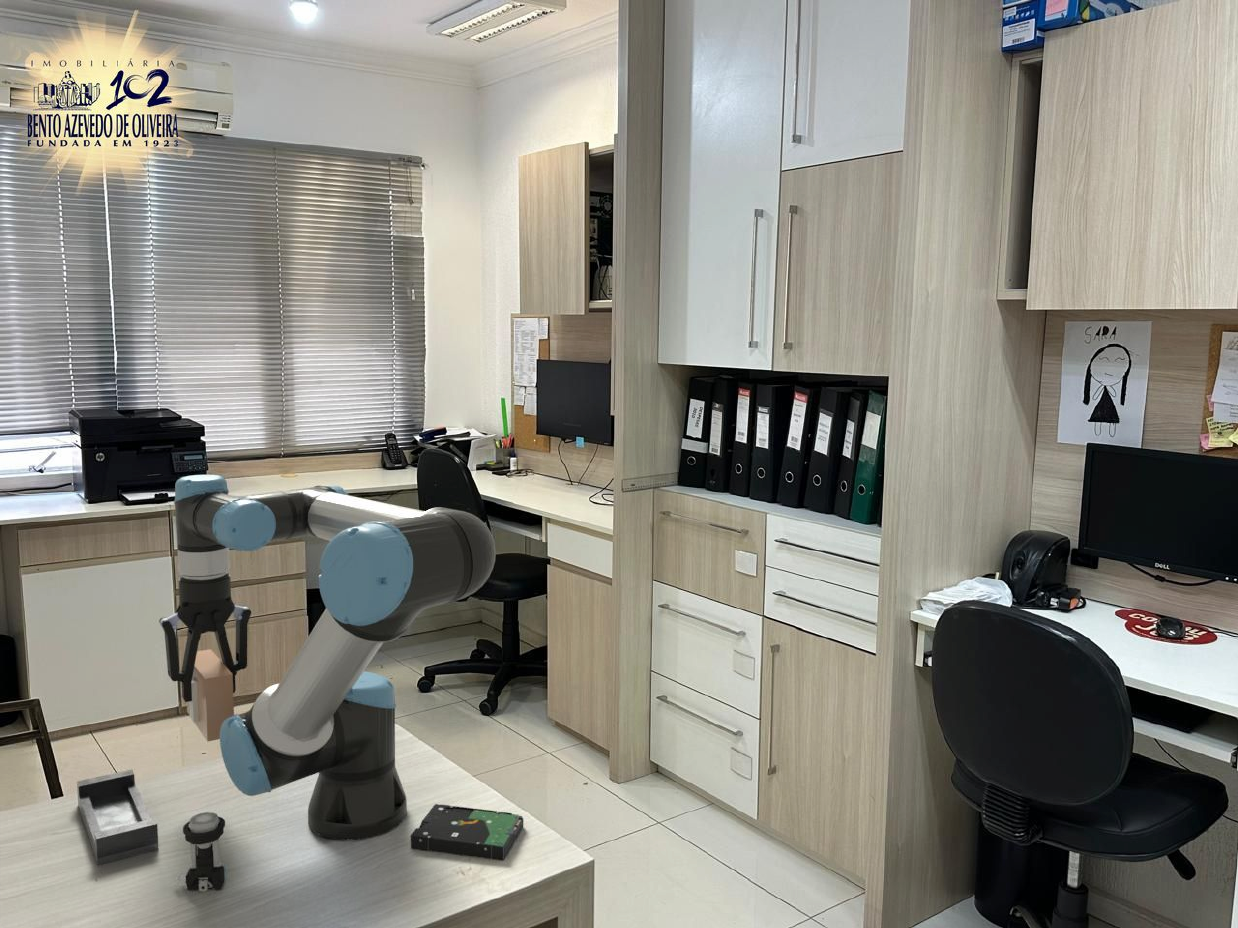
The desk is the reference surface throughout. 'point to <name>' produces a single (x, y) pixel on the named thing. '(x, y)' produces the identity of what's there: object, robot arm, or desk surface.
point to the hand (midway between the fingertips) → (210, 715)
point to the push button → (204, 853)
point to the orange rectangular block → (212, 693)
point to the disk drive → (467, 832)
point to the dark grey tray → (116, 817)
